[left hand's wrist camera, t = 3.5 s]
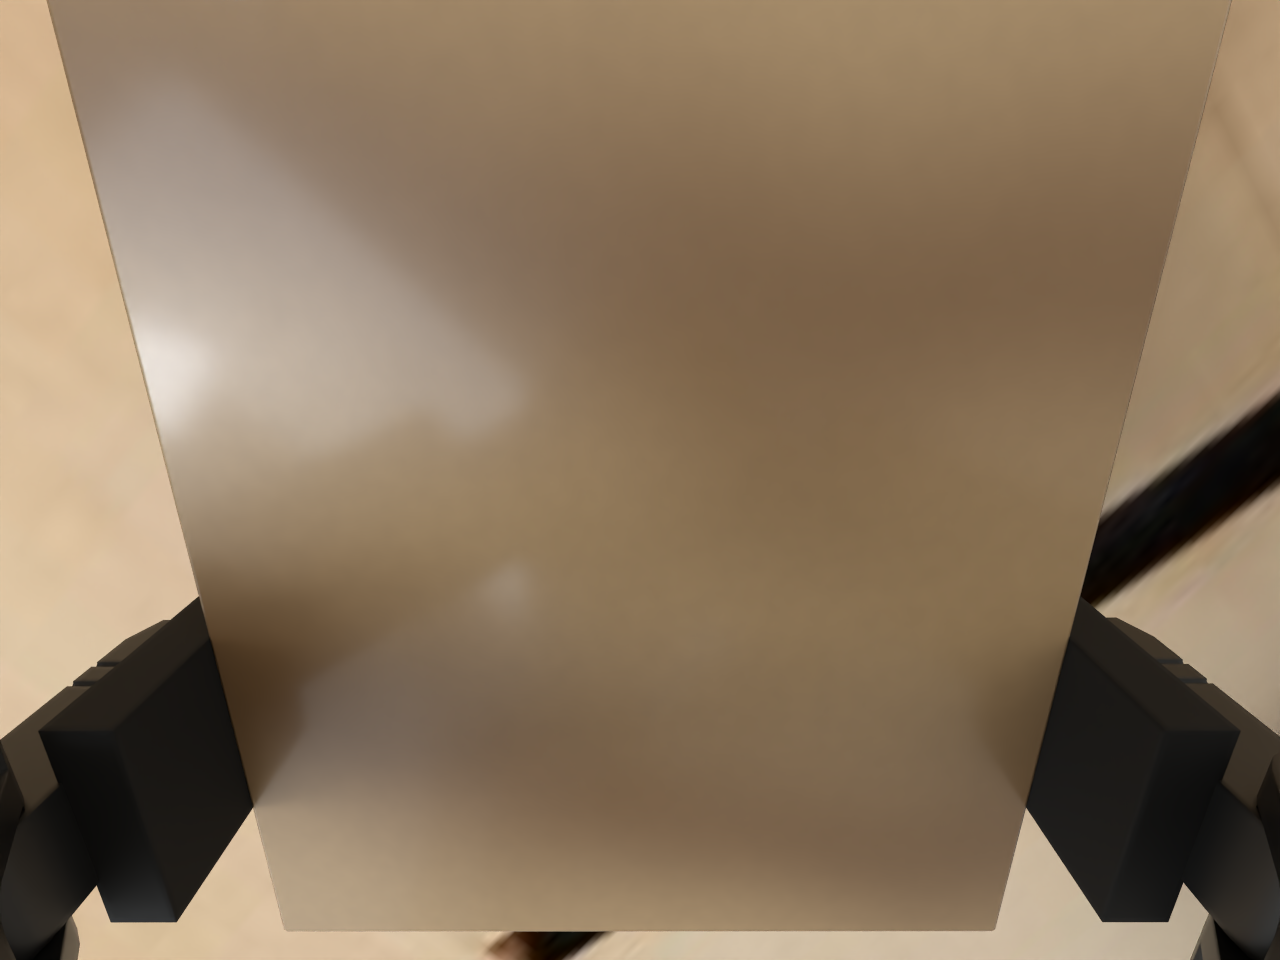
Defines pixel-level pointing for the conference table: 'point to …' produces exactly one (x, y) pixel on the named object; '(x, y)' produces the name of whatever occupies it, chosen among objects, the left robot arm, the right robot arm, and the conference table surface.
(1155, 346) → the conference table surface
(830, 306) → the cabinet
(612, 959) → the conference table surface
